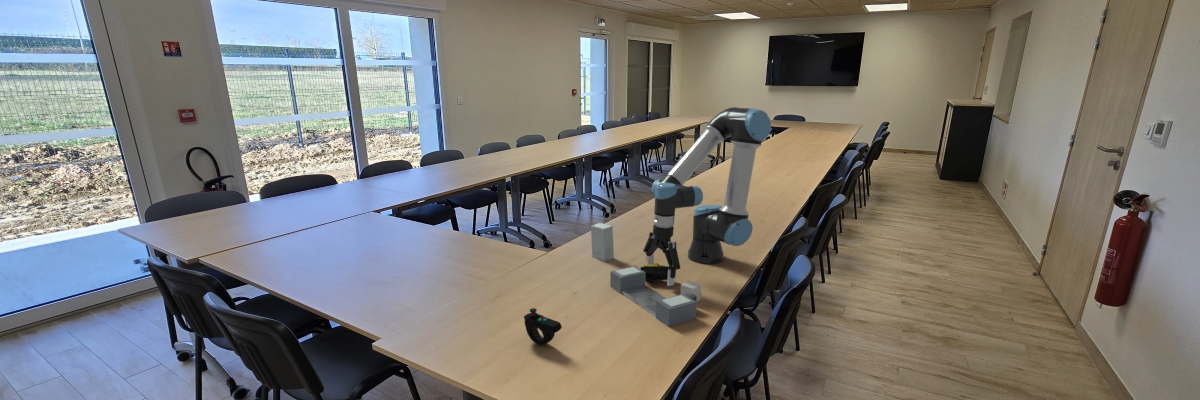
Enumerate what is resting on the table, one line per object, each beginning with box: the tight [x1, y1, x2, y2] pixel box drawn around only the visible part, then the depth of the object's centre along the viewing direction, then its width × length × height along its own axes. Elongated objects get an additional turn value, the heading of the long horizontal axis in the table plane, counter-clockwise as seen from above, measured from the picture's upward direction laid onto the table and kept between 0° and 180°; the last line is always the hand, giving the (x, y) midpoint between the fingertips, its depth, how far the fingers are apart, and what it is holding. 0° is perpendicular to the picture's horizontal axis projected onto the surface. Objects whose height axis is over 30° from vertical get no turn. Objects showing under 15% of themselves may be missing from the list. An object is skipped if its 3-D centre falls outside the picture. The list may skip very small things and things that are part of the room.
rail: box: [620, 284, 666, 318], centre depth 176 cm, size 10×32×1 cm, turn 29°
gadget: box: [639, 262, 670, 282], centre depth 192 cm, size 6×13×6 cm
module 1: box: [609, 265, 646, 294], centre depth 188 cm, size 11×7×6 cm, turn 119°
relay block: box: [679, 280, 702, 303], centre depth 177 cm, size 5×5×6 cm
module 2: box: [655, 293, 698, 328], centre depth 163 cm, size 11×7×6 cm, turn 119°
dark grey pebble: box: [686, 294, 698, 303], centre depth 169 cm, size 4×4×5 cm
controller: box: [523, 307, 563, 346], centre depth 147 cm, size 4×12×10 cm, turn 57°
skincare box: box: [590, 222, 615, 262], centre depth 217 cm, size 8×6×15 cm
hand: (659, 278), depth 191 cm, fingers open, 13 cm apart
